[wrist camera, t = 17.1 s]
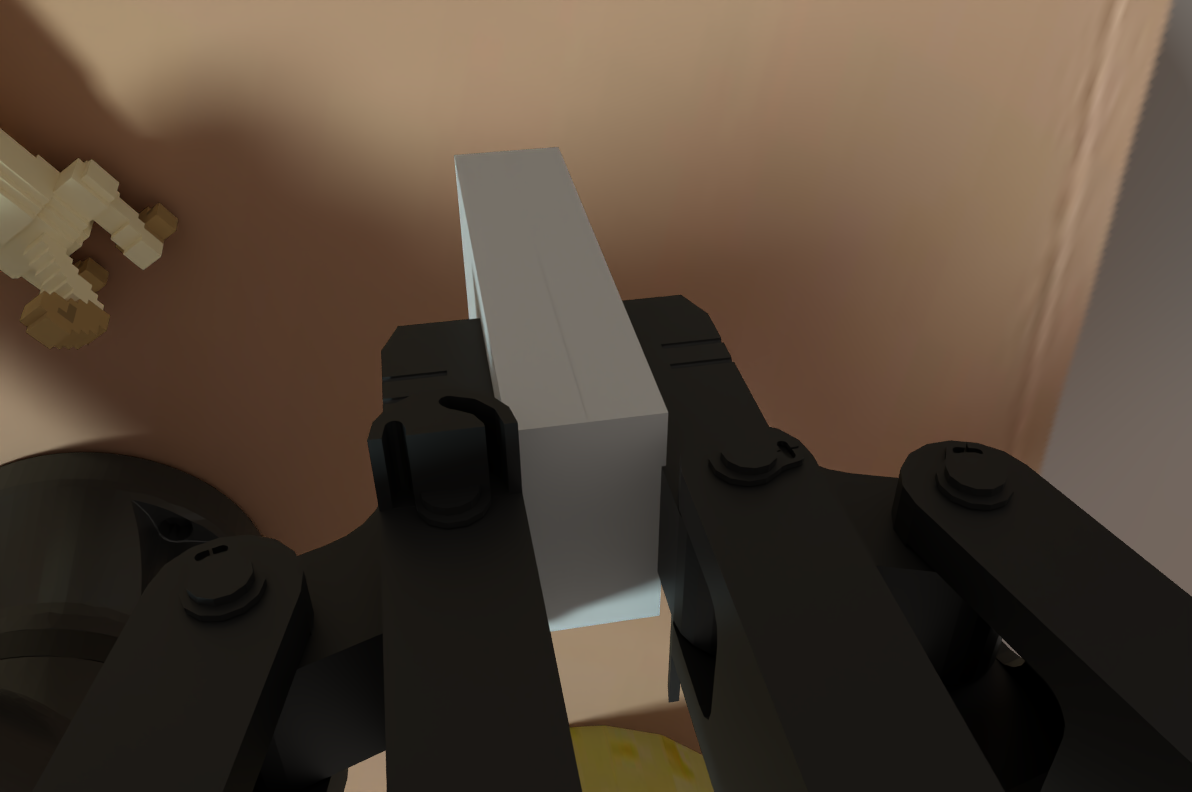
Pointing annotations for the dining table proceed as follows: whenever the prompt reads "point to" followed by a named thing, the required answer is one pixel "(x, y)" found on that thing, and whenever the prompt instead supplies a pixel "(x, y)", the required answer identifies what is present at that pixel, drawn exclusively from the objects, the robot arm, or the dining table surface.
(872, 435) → the dining table surface
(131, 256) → the cream elongated figure
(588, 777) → the cheese
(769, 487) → the robot arm
